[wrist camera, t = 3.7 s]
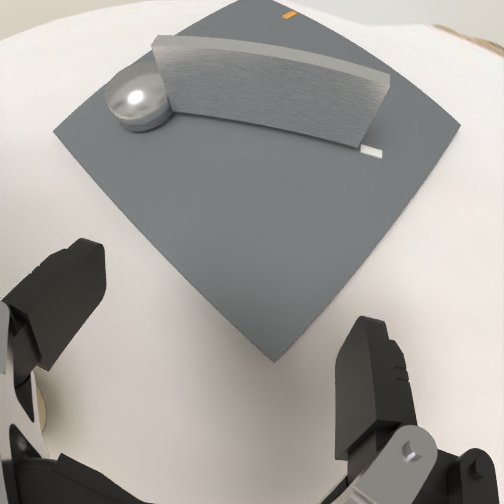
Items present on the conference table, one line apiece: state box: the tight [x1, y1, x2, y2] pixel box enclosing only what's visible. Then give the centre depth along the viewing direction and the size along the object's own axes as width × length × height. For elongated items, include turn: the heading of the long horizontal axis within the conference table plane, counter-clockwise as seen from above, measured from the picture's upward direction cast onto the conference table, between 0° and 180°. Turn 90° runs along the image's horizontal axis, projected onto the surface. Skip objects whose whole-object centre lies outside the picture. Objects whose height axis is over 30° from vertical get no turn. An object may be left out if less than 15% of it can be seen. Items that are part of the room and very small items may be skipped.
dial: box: [105, 35, 390, 147], centre depth 22 cm, size 22×6×8 cm, turn 77°
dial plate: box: [53, 0, 461, 363], centre depth 27 cm, size 30×30×2 cm
